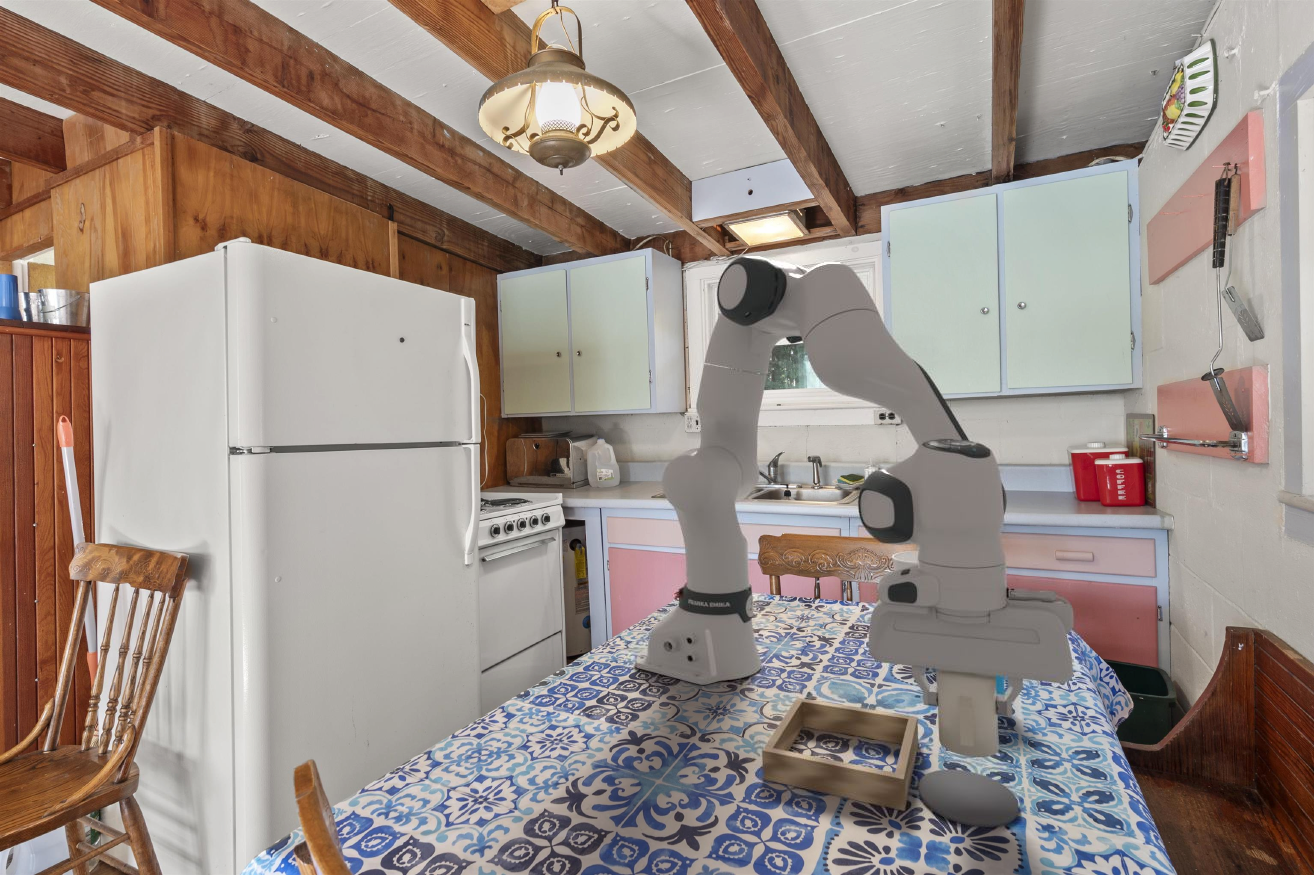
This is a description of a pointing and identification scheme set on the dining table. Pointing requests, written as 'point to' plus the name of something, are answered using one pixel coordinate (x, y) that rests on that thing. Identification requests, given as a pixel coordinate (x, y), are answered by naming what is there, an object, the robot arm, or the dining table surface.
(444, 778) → the dining table surface
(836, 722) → the holder
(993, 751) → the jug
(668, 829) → the dining table surface
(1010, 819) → the grey oval disc
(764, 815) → the dining table surface
